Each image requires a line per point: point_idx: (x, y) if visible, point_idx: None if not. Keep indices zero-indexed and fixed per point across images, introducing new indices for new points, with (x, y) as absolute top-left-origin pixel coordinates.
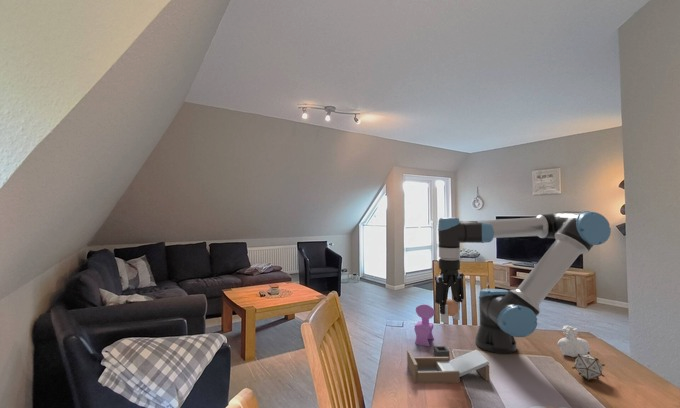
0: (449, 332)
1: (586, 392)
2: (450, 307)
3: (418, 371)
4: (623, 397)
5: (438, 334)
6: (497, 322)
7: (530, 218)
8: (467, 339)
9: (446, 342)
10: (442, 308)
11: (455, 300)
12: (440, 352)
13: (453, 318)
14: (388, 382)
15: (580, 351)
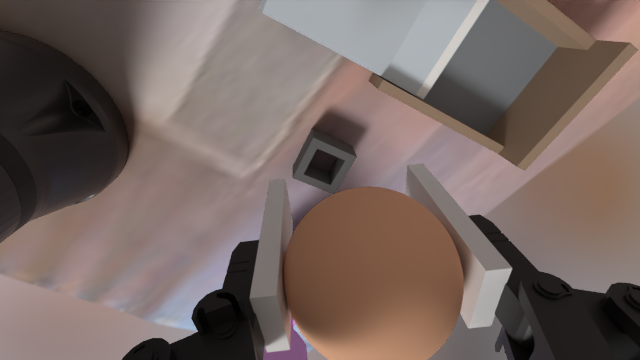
0: (163, 269)
1: None
2: (446, 240)
3: (584, 46)
4: None
5: (213, 270)
6: None
7: None
8: (131, 209)
9: (229, 220)
10: (519, 257)
11: (260, 345)
12: (345, 150)
13: (291, 215)
14: (617, 92)
15: None
